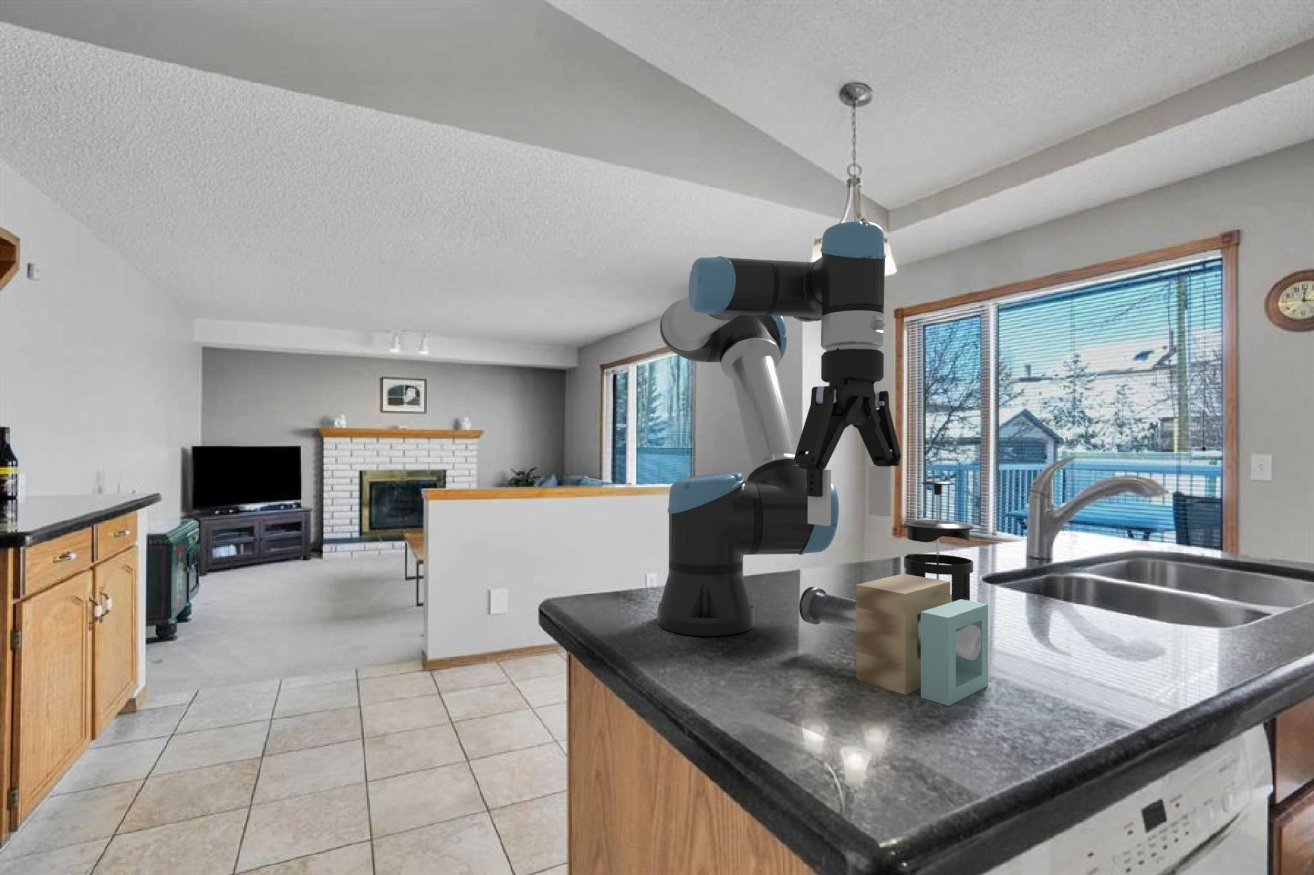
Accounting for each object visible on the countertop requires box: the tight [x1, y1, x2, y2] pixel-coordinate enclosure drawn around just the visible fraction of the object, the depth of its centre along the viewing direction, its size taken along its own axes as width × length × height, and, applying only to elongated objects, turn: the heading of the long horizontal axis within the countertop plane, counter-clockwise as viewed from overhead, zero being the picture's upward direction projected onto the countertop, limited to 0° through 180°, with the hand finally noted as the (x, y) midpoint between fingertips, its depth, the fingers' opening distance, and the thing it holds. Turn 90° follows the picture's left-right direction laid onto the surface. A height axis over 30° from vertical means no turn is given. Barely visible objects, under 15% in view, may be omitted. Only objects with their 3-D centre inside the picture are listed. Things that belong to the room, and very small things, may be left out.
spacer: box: [920, 599, 989, 707], centre depth 71 cm, size 3×9×9 cm, turn 130°
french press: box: [903, 480, 974, 603], centre depth 92 cm, size 12×9×23 cm
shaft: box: [798, 586, 982, 660], centre depth 77 cm, size 21×5×5 cm, turn 40°
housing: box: [855, 573, 951, 696], centre depth 75 cm, size 6×10×12 cm, turn 130°
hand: (850, 520), depth 82 cm, fingers open, 13 cm apart
